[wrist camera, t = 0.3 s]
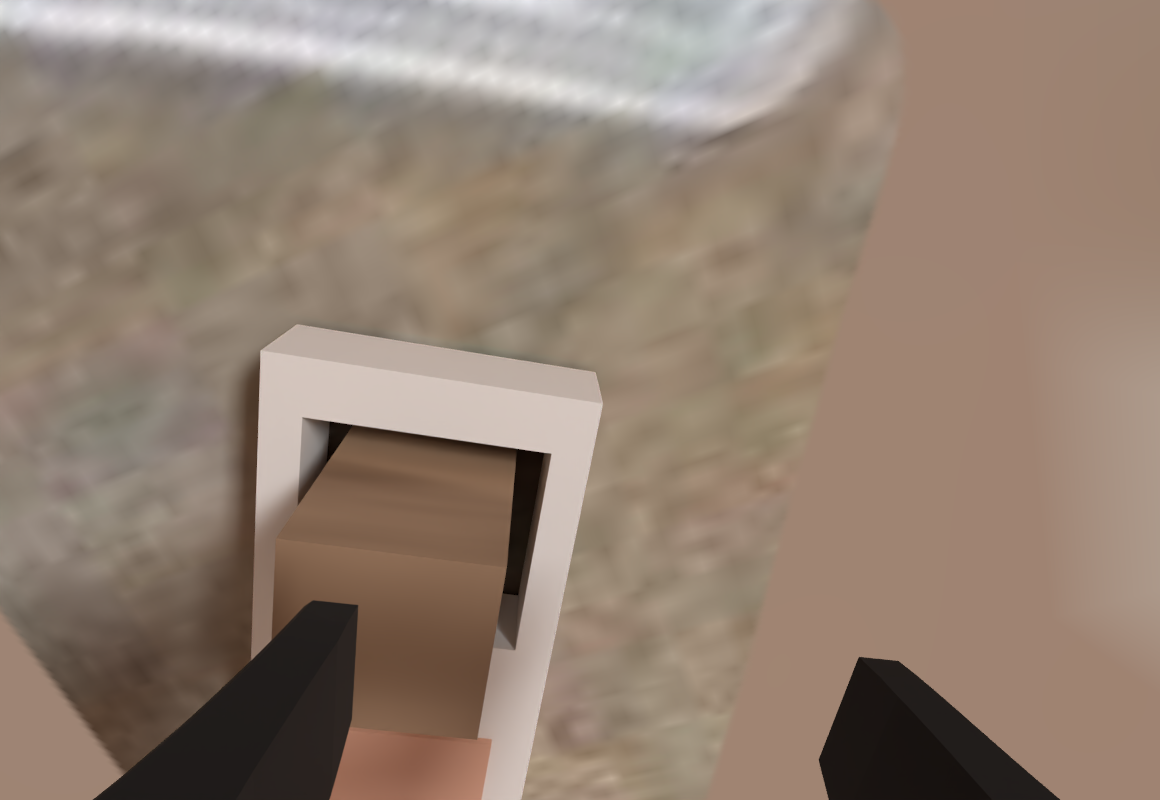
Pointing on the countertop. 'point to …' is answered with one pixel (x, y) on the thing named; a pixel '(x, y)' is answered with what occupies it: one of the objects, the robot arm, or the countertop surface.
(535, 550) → the socket block
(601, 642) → the countertop surface
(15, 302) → the countertop surface
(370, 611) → the plug
